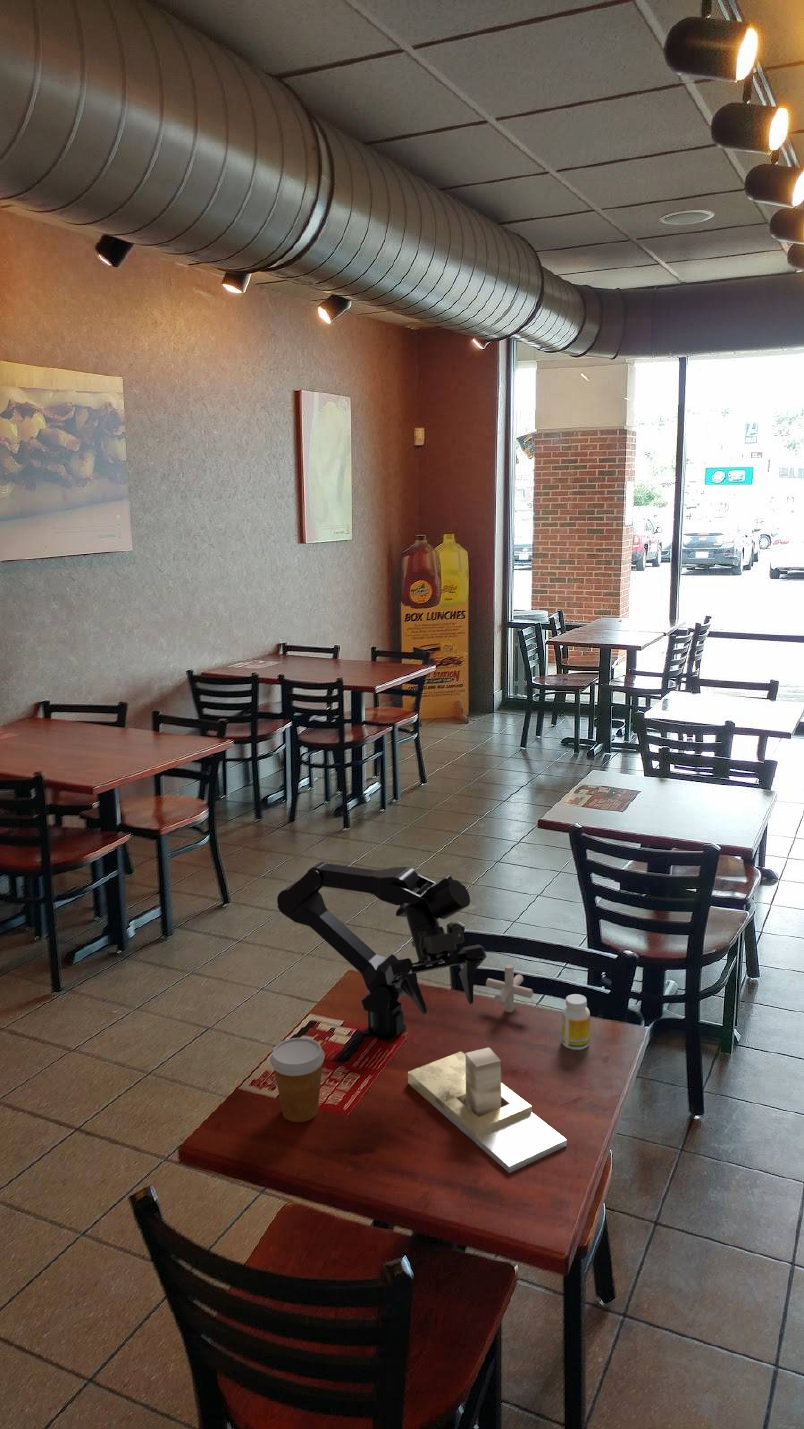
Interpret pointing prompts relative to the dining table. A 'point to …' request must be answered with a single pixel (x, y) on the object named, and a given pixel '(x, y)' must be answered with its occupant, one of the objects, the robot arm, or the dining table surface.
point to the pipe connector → (509, 988)
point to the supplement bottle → (575, 1022)
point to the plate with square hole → (487, 1115)
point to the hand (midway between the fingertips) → (448, 1008)
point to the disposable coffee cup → (298, 1077)
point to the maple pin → (483, 1081)
